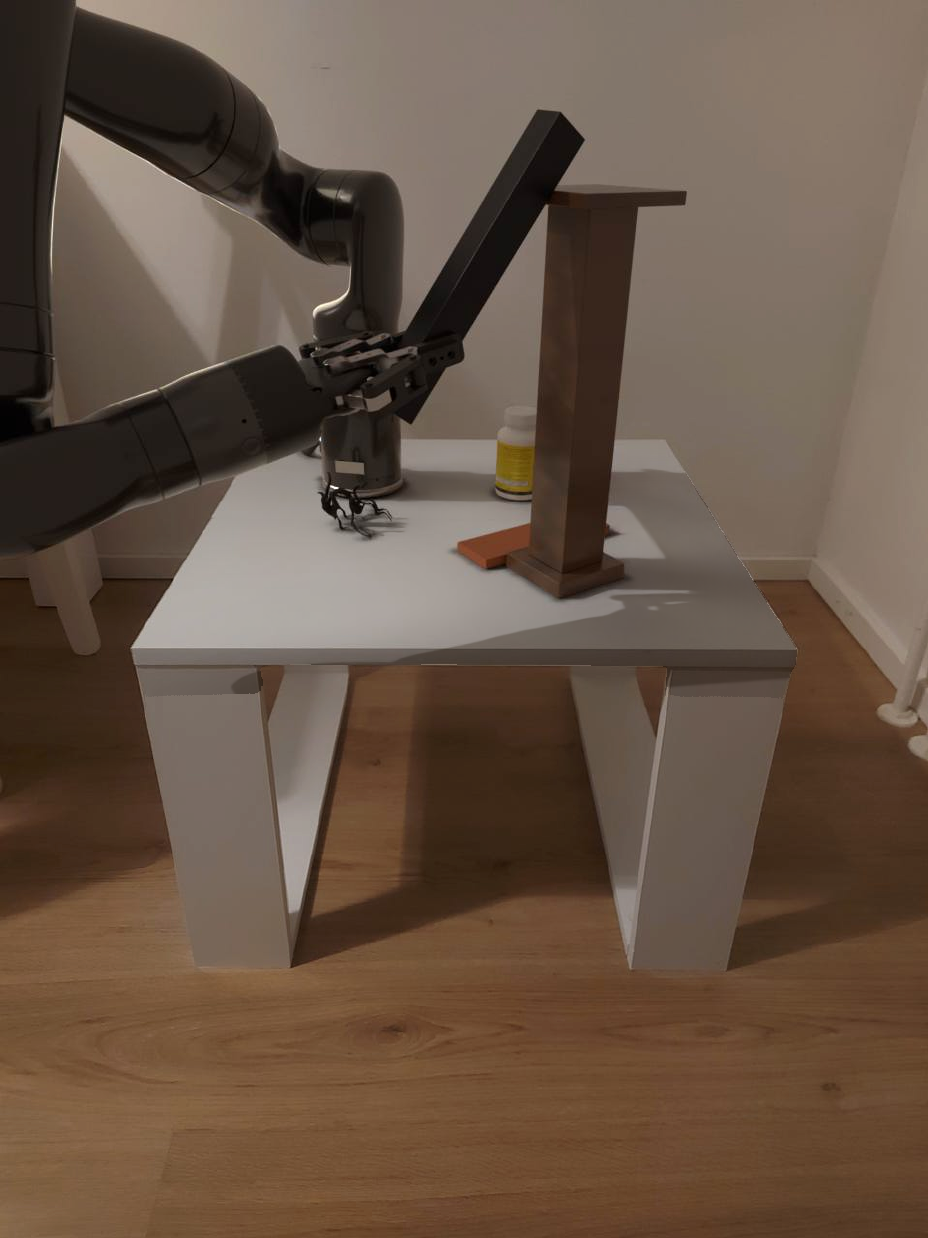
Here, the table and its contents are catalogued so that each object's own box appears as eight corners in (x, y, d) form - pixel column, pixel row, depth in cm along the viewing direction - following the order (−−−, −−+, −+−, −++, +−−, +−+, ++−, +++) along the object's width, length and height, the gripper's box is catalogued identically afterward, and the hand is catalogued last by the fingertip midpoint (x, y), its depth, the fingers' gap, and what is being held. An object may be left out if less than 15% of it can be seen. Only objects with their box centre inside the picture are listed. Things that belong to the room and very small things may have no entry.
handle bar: (366, 395, 67) (382, 407, 65) (537, 108, 63) (560, 110, 61) (394, 413, 69) (411, 425, 67) (561, 136, 65) (586, 139, 63)
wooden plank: (457, 550, 87) (457, 541, 87) (578, 518, 95) (578, 509, 95) (486, 569, 83) (486, 560, 83) (609, 533, 91) (610, 524, 91)
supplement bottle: (538, 503, 99) (543, 418, 94) (491, 499, 99) (494, 415, 95) (544, 487, 103) (549, 405, 98) (499, 483, 104) (502, 402, 99)
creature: (392, 519, 97) (322, 503, 96) (402, 475, 94) (329, 457, 93) (385, 549, 90) (309, 531, 89) (395, 501, 87) (317, 483, 86)
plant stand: (491, 565, 84) (503, 185, 68) (570, 542, 89) (599, 184, 73) (557, 606, 77) (588, 193, 61) (638, 579, 82) (687, 190, 66)
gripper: (255, 391, 54) (489, 308, 60) (195, 342, 65) (399, 275, 70) (289, 496, 58) (504, 410, 64) (228, 435, 69) (417, 365, 74)
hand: (448, 340), depth 67 cm, fingers closed on handle bar, 3 cm apart
